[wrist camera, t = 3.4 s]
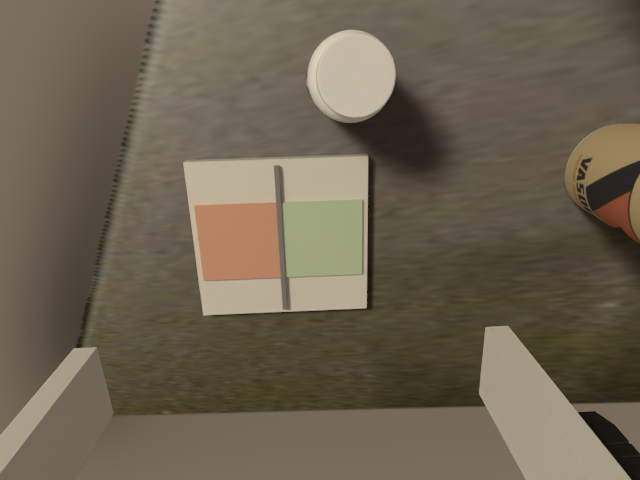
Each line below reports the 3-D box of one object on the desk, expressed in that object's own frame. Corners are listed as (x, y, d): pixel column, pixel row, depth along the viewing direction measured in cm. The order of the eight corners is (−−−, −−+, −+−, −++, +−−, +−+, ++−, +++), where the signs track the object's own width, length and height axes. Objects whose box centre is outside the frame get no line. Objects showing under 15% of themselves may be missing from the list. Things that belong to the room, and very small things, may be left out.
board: (186, 160, 37) (181, 163, 36) (366, 154, 37) (369, 156, 36) (205, 309, 42) (202, 318, 40) (365, 303, 42) (367, 311, 41)
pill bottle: (382, 108, 36) (410, 118, 27) (313, 122, 36) (317, 137, 27) (372, 32, 34) (398, 14, 25) (299, 47, 34) (298, 35, 25)
